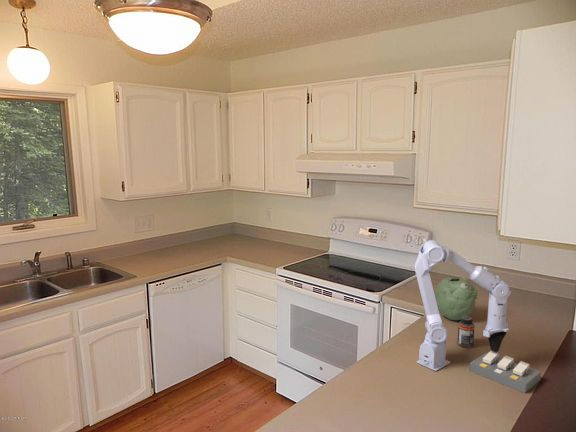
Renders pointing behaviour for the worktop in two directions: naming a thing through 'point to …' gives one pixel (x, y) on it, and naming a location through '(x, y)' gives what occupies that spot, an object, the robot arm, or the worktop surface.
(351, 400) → the worktop surface
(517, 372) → the rocker
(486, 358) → the rocker
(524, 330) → the worktop surface
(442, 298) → the cabbage
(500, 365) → the rocker
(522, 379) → the switch box
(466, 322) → the supplement bottle
